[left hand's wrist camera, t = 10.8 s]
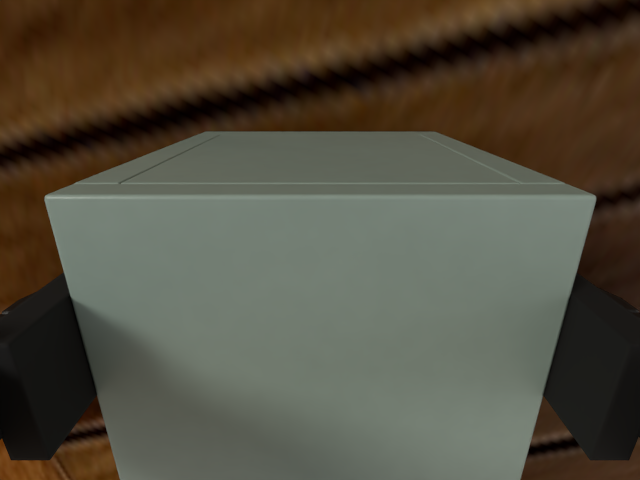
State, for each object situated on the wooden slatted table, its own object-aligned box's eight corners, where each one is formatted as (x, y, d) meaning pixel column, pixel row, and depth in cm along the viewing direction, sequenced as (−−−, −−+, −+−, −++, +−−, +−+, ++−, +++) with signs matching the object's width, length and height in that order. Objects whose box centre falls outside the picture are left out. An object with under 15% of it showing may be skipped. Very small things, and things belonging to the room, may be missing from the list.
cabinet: (406, 405, 23) (474, 655, 13) (233, 405, 23) (165, 654, 13) (435, 131, 18) (599, 195, 7) (204, 131, 18) (40, 195, 7)
